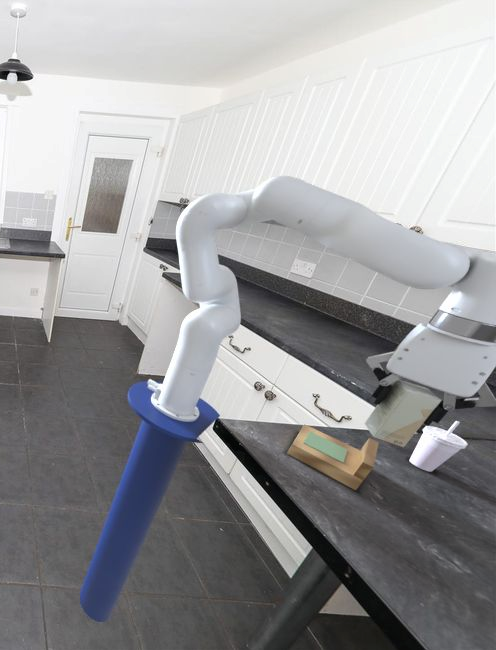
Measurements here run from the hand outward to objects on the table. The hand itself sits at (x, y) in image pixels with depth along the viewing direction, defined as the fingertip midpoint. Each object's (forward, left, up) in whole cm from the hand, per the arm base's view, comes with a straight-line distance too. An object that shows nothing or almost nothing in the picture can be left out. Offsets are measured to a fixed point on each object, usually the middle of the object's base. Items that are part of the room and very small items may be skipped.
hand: (400, 411), depth 62 cm
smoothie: (+11, +31, -22) cm, 39 cm away
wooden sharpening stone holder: (-4, +11, -22) cm, 25 cm away
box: (0, 0, -6) cm, 6 cm away
